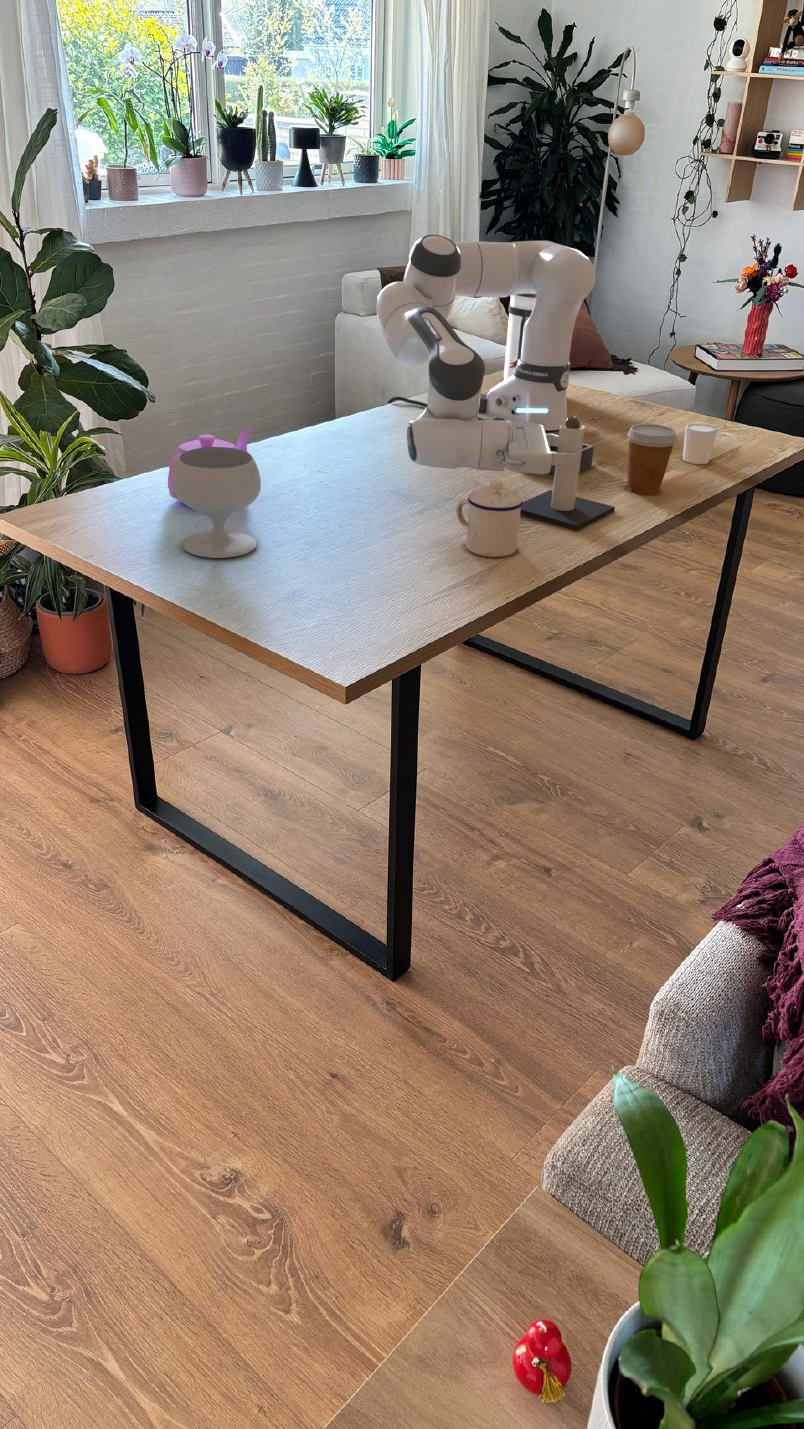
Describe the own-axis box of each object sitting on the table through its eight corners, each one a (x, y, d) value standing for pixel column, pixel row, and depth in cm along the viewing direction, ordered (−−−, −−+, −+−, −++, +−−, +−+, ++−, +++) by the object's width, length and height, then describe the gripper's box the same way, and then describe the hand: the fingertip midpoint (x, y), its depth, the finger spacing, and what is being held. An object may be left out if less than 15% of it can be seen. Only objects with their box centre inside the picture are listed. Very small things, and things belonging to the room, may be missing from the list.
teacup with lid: (527, 548, 186) (534, 481, 180) (499, 562, 179) (505, 494, 173) (469, 530, 192) (474, 466, 186) (439, 544, 185) (444, 478, 180)
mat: (511, 512, 201) (511, 507, 201) (550, 494, 211) (550, 489, 210) (577, 531, 194) (577, 525, 194) (614, 511, 204) (615, 506, 203)
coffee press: (565, 390, 286) (579, 268, 271) (538, 401, 274) (552, 274, 259) (507, 379, 293) (517, 260, 278) (478, 390, 281) (488, 266, 266)
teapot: (197, 520, 190) (193, 454, 184) (147, 502, 197) (142, 437, 191) (278, 494, 204) (277, 432, 198) (229, 478, 211) (226, 417, 205)
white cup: (709, 456, 238) (715, 424, 235) (714, 466, 232) (720, 433, 229) (677, 454, 239) (683, 422, 235) (681, 463, 233) (687, 431, 229)
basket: (508, 467, 225) (510, 445, 223) (539, 455, 234) (542, 433, 231) (560, 481, 218) (563, 458, 216) (591, 467, 227) (594, 446, 225)
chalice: (213, 525, 188) (209, 439, 181) (279, 543, 183) (277, 455, 175) (159, 549, 178) (152, 459, 170) (226, 569, 172) (223, 476, 164)
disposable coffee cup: (672, 487, 218) (682, 428, 212) (661, 500, 211) (671, 439, 205) (626, 479, 221) (635, 420, 215) (613, 492, 214) (622, 431, 208)
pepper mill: (546, 507, 202) (556, 416, 193) (558, 501, 205) (569, 411, 196) (566, 512, 199) (578, 421, 191) (578, 507, 202) (590, 416, 194)
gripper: (500, 445, 186) (580, 449, 186) (495, 414, 204) (569, 418, 204) (497, 481, 189) (576, 485, 189) (492, 447, 207) (565, 451, 207)
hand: (572, 450), depth 197 cm, fingers open, 8 cm apart
